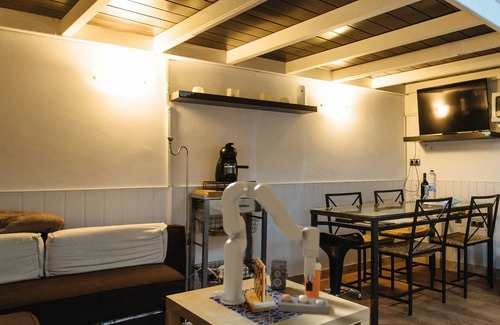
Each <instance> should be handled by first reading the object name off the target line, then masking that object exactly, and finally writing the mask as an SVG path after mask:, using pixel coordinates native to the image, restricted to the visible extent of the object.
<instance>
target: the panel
mask: <svg viewBox="0 0 500 325" xmlns="http://www.w3.org/2000/svg"><path fill="white" fill-rule="evenodd" d="M277 299H278V300H277V301H278V302H277V311H280V312H295V313H308V314H309V313H310V314H324V315H330V306H329V305H330V304H329V301H328V298H307V304H306V303H299V296H291V303H290V302H282V300H283V295H279V296H278V298H277ZM316 300H323V301H324V305H321V304H316Z"/></svg>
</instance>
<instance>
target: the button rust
mask: <svg viewBox="0 0 500 325" xmlns="http://www.w3.org/2000/svg"><path fill="white" fill-rule="evenodd" d="M282 296H283V300H282V302H290V303H291V297H292V295H291V294H289V293H284V294H282Z"/></svg>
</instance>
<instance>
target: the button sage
mask: <svg viewBox="0 0 500 325" xmlns="http://www.w3.org/2000/svg"><path fill="white" fill-rule="evenodd" d="M316 304H321V305H324V301H323V300H316Z"/></svg>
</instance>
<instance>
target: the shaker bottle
mask: <svg viewBox="0 0 500 325" xmlns="http://www.w3.org/2000/svg"><path fill="white" fill-rule="evenodd" d="M320 262H321V260H320V259H317V258H316V266H315V277H314V278H313V291H306V282H307V277H306V278H305V277H304V295H306V296H307V298H318V299H320V298H319V297H320V289H321V288H320V285H321V274H322V272H321V271H322V264H321V263H320Z"/></svg>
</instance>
